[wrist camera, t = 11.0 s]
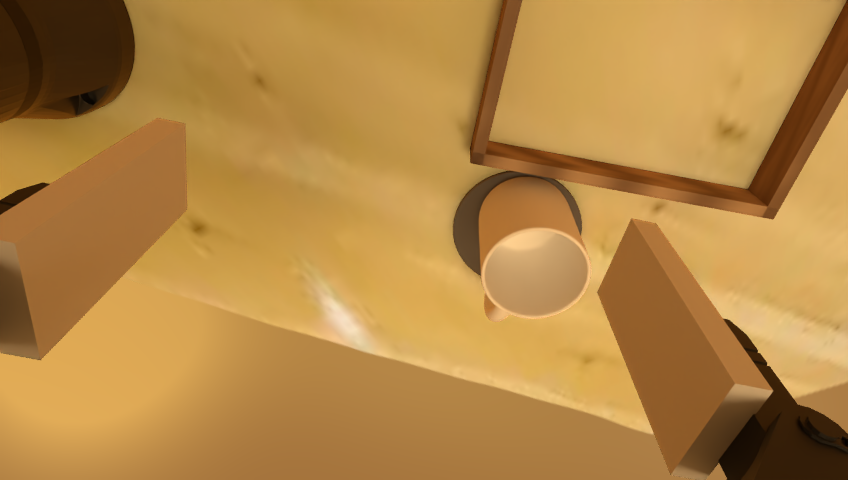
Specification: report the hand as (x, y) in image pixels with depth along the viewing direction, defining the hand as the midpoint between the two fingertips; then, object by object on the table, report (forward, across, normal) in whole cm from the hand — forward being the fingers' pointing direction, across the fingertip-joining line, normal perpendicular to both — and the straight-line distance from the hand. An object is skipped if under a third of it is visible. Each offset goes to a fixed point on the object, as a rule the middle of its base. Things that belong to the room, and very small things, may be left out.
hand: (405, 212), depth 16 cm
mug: (+30, +11, -15) cm, 36 cm away
